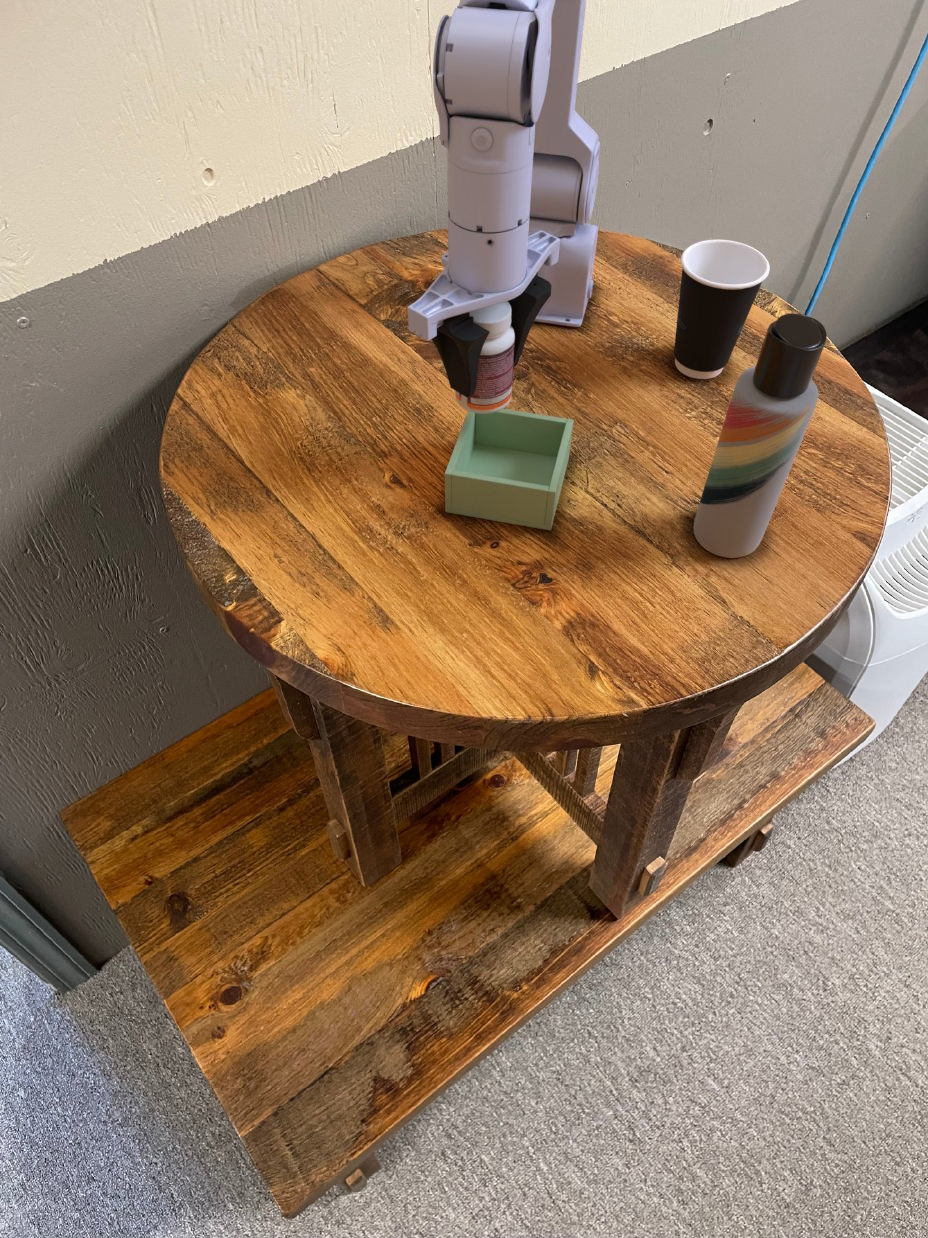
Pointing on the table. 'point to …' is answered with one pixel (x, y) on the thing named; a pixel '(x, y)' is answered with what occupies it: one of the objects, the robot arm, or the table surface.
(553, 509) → the sage green tray box
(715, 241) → the dixie cup
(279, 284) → the table surface
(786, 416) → the lotion bottle
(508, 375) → the pill bottle
